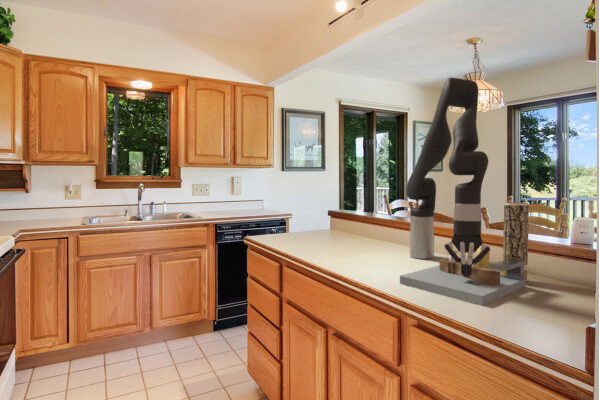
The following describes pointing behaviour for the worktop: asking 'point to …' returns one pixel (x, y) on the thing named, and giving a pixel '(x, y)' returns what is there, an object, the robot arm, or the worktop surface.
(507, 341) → the worktop surface
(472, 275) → the link
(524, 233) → the brown bark-textured cylinder
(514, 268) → the keeper
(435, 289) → the board
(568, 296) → the worktop surface
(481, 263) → the pin
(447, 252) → the pintle
